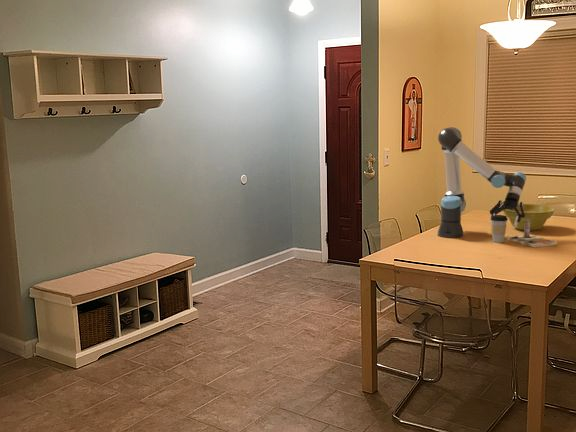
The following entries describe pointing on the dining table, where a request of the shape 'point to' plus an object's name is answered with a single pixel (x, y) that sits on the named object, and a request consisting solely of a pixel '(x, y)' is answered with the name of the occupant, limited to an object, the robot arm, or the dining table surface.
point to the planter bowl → (530, 215)
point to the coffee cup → (498, 228)
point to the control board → (531, 238)
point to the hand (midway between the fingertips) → (503, 225)
